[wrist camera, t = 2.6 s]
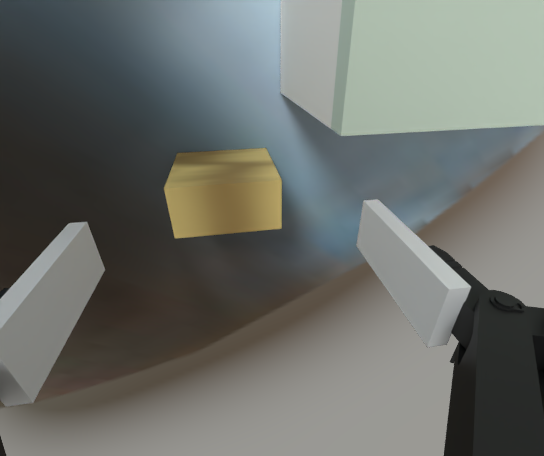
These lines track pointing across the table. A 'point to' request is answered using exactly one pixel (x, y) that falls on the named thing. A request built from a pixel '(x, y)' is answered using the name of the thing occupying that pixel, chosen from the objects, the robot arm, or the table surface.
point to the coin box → (414, 63)
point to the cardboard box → (223, 193)
